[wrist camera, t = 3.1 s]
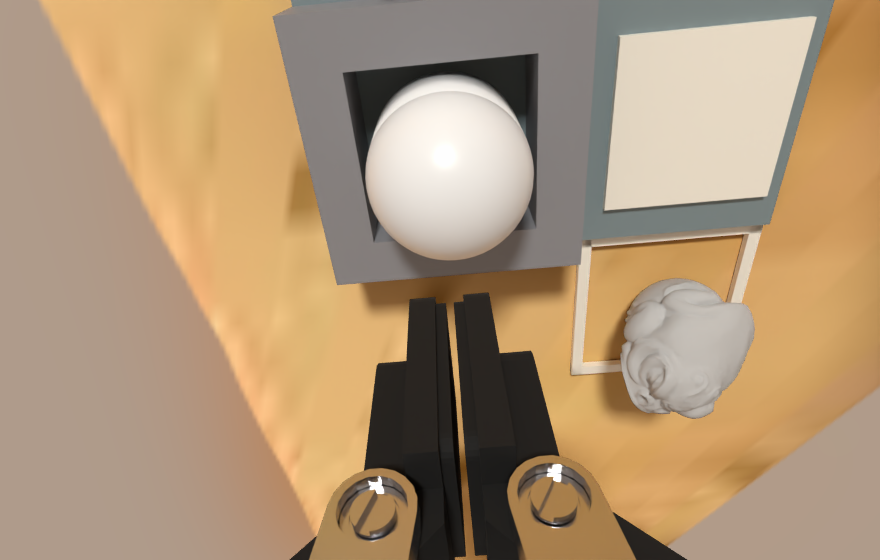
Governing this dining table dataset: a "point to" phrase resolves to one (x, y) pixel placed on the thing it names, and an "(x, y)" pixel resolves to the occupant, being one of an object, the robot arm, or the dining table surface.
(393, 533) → the robot arm
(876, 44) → the dining table surface
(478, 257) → the game board
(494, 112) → the dome button
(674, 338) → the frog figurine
